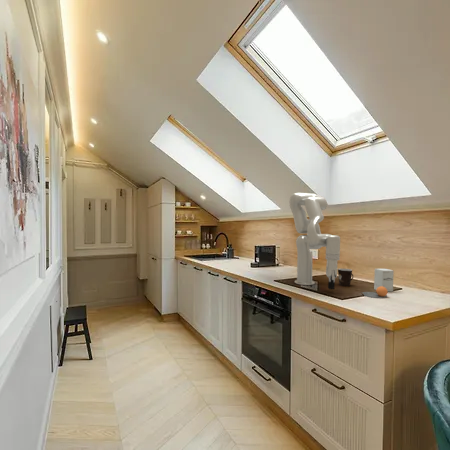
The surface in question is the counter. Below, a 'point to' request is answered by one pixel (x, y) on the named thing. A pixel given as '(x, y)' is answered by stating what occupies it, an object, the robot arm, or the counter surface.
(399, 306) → the counter surface
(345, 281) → the coffee mug
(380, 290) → the ball
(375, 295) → the disc
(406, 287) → the counter surface
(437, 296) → the counter surface
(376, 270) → the supplement box
